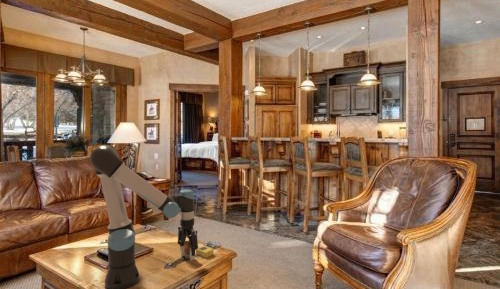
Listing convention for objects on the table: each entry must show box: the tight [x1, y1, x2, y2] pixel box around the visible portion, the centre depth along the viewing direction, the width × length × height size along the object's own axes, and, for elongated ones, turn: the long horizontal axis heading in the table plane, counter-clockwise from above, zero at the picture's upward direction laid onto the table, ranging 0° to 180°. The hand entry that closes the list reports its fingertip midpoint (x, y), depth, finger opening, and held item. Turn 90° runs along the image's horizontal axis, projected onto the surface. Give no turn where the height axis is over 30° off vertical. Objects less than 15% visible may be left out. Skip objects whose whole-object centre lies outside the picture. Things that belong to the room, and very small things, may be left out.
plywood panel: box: [195, 243, 220, 259], centre depth 179 cm, size 14×18×1 cm
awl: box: [184, 240, 191, 260], centre depth 169 cm, size 3×3×10 cm
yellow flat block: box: [196, 245, 215, 259], centre depth 174 cm, size 6×8×3 cm
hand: (187, 259), depth 169 cm, fingers open, 7 cm apart
